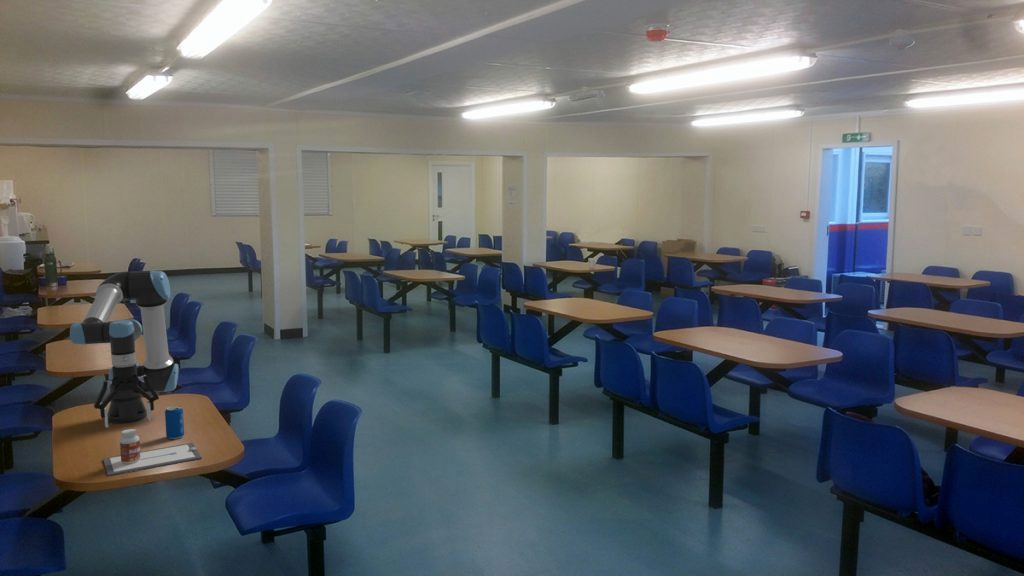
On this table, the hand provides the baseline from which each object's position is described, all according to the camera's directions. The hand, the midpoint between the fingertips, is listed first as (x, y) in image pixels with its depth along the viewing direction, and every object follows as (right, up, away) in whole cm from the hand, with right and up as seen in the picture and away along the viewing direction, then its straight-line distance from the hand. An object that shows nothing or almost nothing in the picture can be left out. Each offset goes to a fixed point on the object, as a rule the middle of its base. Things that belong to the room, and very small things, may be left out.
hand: (128, 423), depth 260 cm
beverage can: (+3, -11, +29) cm, 31 cm away
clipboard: (+6, -14, +6) cm, 16 cm away
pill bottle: (0, -14, +2) cm, 14 cm away
